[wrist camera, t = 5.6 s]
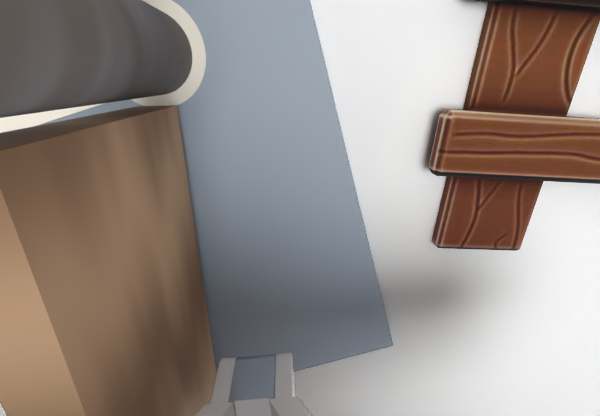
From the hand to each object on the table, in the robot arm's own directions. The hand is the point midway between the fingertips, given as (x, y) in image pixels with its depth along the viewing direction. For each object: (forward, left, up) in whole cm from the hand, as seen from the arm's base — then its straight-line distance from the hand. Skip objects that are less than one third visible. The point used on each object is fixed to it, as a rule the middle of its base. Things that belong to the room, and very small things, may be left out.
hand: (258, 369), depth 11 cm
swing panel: (+3, +2, -3) cm, 5 cm away
